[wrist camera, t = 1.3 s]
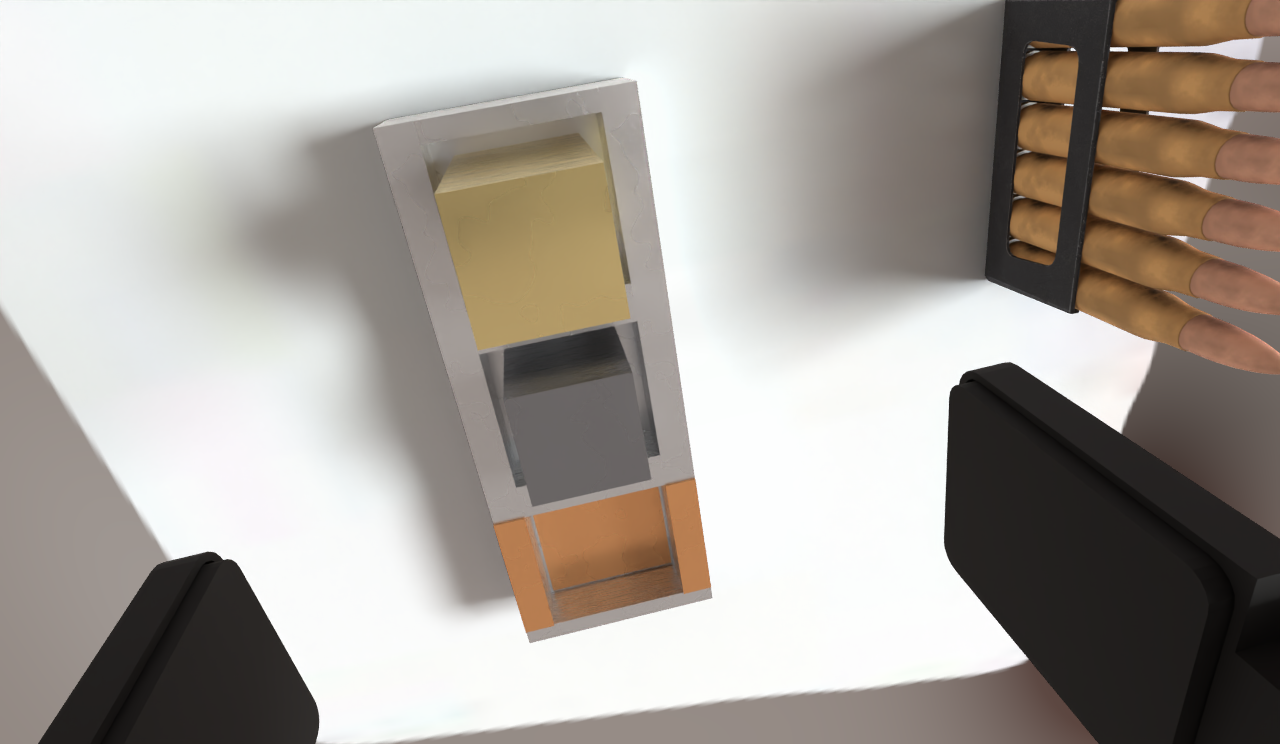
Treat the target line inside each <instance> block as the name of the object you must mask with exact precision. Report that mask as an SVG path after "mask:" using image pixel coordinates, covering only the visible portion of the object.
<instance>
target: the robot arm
mask: <svg viewBox="0 0 1280 744" xmlns="http://www.w3.org/2000/svg"><path fill="white" fill-rule="evenodd" d="M944 546H945V550H946V553H947V556H948V559H949V561H950V563H951V565H952V566H953V568H954V569H955V570H956V572H957V573H958V574H959V575H960V576H961V578H962V579H963V580H964V581H965V582H966V584H967V585H968V586H969V587H970V588H971V590H972V591H973V592H974V593H975V595H976V596H977V597H978V598H979V599H980V601H981V602H982V603H983V604H984V605H985V607H986V608H987V609H988V610H989V611H990V613H991V614H992V615H993V616H994V618H995V619H996V620H997V621H998V622H999V624H1000V625H1001V626H1002V627H1003V628H1004V630H1005V631H1006V632H1007V633H1008V634H1009V636H1010V637H1011V638H1012V639H1013V641H1014V642H1015V643H1016V644H1017V645H1018V647H1019V648H1020V649H1021V650H1022V651H1023V653H1024V654H1025V655H1026V656H1027V657H1028V659H1029V660H1030V661H1031V662H1032V664H1033V665H1034V666H1035V667H1036V668H1037V670H1038V671H1039V672H1040V673H1041V674H1042V675H1043V677H1044V678H1045V679H1046V680H1047V682H1048V683H1049V684H1050V685H1051V686H1052V687H1053V689H1054V690H1055V691H1056V692H1057V694H1058V695H1059V696H1060V697H1061V699H1062V700H1063V701H1064V702H1065V703H1066V705H1067V706H1068V707H1069V708H1070V710H1071V711H1072V712H1073V713H1074V714H1075V715H1076V717H1077V718H1078V719H1079V720H1080V722H1081V723H1082V724H1083V725H1084V726H1085V728H1086V729H1087V730H1088V731H1089V733H1090V734H1091V735H1092V736H1093V737H1094V739H1095V740H1096V741H1097V742H1098V743H1099V744H1280V539H1279V538H1278V537H1276V536H1275V535H1273V534H1272V533H1270V532H1269V531H1267V530H1266V529H1264V528H1263V527H1261V526H1260V525H1258V524H1257V523H1255V522H1253V521H1252V520H1250V519H1249V518H1247V517H1246V516H1244V515H1243V514H1241V513H1240V512H1238V511H1237V510H1235V509H1234V508H1232V507H1231V506H1229V505H1228V504H1226V503H1225V502H1223V501H1222V500H1220V499H1218V498H1217V497H1216V496H1214V495H1213V494H1211V493H1210V492H1208V491H1206V490H1205V489H1204V488H1202V487H1200V486H1199V485H1198V484H1196V483H1194V482H1193V481H1191V480H1190V479H1188V478H1187V477H1185V476H1184V475H1182V474H1181V473H1179V472H1178V471H1176V470H1175V469H1173V468H1172V467H1170V466H1169V465H1167V464H1166V463H1164V462H1163V461H1161V460H1160V459H1158V458H1157V457H1155V456H1154V455H1152V454H1151V453H1149V452H1147V451H1146V450H1145V449H1143V448H1141V447H1140V446H1139V445H1137V444H1135V443H1134V442H1132V441H1131V440H1129V439H1128V438H1126V437H1125V436H1123V435H1122V434H1120V433H1119V432H1117V431H1116V430H1114V429H1113V428H1111V427H1110V426H1108V425H1107V424H1105V423H1104V422H1102V421H1101V420H1099V419H1098V418H1096V417H1095V416H1093V415H1092V414H1090V413H1089V412H1087V411H1086V410H1084V409H1083V408H1081V407H1080V406H1078V405H1076V404H1075V403H1073V402H1072V401H1070V400H1069V399H1067V398H1066V397H1064V396H1063V395H1061V394H1060V393H1058V392H1057V391H1055V390H1054V389H1052V388H1051V387H1049V386H1048V385H1046V384H1045V383H1043V382H1042V381H1040V380H1039V379H1037V378H1036V377H1034V376H1033V375H1031V374H1030V373H1028V372H1027V371H1025V370H1024V369H1022V368H1021V367H1019V366H1017V365H1015V364H1013V363H1011V362H1008V363H1001V364H997V365H993V366H989V367H984V368H980V369H976V370H972V371H967V372H966V373H964V374H963V375H962V377H961V379H960V383H959V385H956V386H954V387H953V388H952V389H951V391H950V397H949V420H948V447H947V474H946V501H945V528H944ZM318 730H319V713H318V708H317V705H316V703H315V700H314V698H313V697H312V695H311V693H310V691H309V690H308V688H307V686H306V684H305V682H304V681H303V679H302V677H301V675H300V674H299V672H298V670H297V668H296V667H295V665H294V663H293V661H292V659H291V658H290V656H289V654H288V652H287V651H286V649H285V647H284V645H283V643H282V642H281V640H280V638H279V636H278V635H277V633H276V631H275V629H274V628H273V626H272V624H271V622H270V620H269V619H268V617H267V615H266V613H265V612H264V610H263V608H262V606H261V604H260V603H259V601H258V599H257V597H256V596H255V594H254V592H253V590H252V588H251V587H250V585H249V583H248V581H247V580H246V578H245V576H244V574H243V573H242V571H241V569H240V567H239V566H238V565H237V563H236V562H234V561H233V560H229V559H226V560H223V559H222V558H221V557H220V556H219V555H217V554H216V553H214V552H205V553H201V554H196V555H192V556H188V557H184V558H180V559H175V560H171V561H167V562H163V563H161V564H158V565H157V566H156V567H155V568H154V569H153V570H152V571H151V573H150V574H149V576H148V577H147V579H146V580H145V582H144V583H143V585H142V587H141V588H140V589H139V591H138V592H137V594H136V595H135V597H134V598H133V600H132V602H131V603H130V605H129V606H128V608H127V609H126V611H125V612H124V614H123V615H122V617H121V618H120V620H119V622H118V623H117V624H116V626H115V627H114V629H113V631H112V632H111V633H110V635H109V637H108V638H107V640H106V641H105V643H104V644H103V646H102V647H101V649H100V650H99V652H98V653H97V655H96V656H95V658H94V659H93V661H92V662H91V664H90V666H89V667H88V669H87V670H86V672H85V673H84V675H83V676H82V678H81V679H80V681H79V682H78V684H77V685H76V687H75V689H74V690H73V691H72V693H71V695H70V696H69V698H68V699H67V701H66V702H65V703H64V705H63V707H62V708H61V710H60V711H59V713H58V714H57V716H56V717H55V719H54V720H53V722H52V723H51V725H50V726H49V728H48V729H47V731H46V733H45V734H44V735H43V737H42V739H41V740H40V742H39V743H38V744H315V743H316V739H317V735H318Z"/></svg>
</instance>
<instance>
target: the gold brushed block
mask: <svg viewBox="0 0 1280 744" xmlns="http://www.w3.org/2000/svg"><path fill="white" fill-rule="evenodd" d="M434 195H435V199H436V203H437V206H438V210H439V213H440V217H441V220H442V224H443V228H444V231H445V235H446V238H447V242H448V245H449V249H450V252H451V256H452V260H453V263H454V267H455V270H456V274H457V277H458V281H459V285H460V288H461V292H462V295H463V299H464V302H465V306H466V310H467V313H468V317H469V320H470V324H471V327H472V331H473V335H474V338H475V342H476V345H477V349H478V350H483V349H487V348H492V347H497V346H502V345H507V344H511V343H516V342H521V341H526V340H530V339H535V338H540V337H545V336H550V335H554V334H559V333H564V332H569V331H573V330H578V329H583V328H588V327H592V326H597V325H602V324H607V323H612V322H616V321H621V320H626V319H631V318H630V312H629V306H628V301H627V295H626V289H625V283H624V278H623V272H622V266H621V260H620V255H619V249H618V243H617V237H616V231H615V226H614V220H613V214H612V208H611V203H610V197H609V191H608V185H607V180H606V174H605V168H604V162H603V161H602V160H601V159H600V158H599V157H598V155H597V154H596V153H595V152H594V151H593V149H592V148H591V147H590V146H589V145H588V144H587V142H586V141H585V140H584V139H583V138H582V137H581V135H580V134H579V133H574V134H569V135H563V136H558V137H553V138H547V139H542V140H536V141H531V142H526V143H520V144H515V145H509V146H504V147H499V148H493V149H488V150H482V151H477V152H472V153H466V154H461V155H455V156H453V158H452V160H451V162H450V164H449V166H448V168H447V170H446V172H445V174H444V176H443V178H442V180H441V182H440V184H439V186H438V188H437V190H436V192H435V194H434Z"/></svg>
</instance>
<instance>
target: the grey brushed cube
mask: <svg viewBox="0 0 1280 744" xmlns="http://www.w3.org/2000/svg"><path fill="white" fill-rule="evenodd" d="M503 401H504V405H505V408H506V412H507V416H508V419H509V423H510V427H511V430H512V434H513V438H514V441H515V445H516V449H517V452H518V456H519V460H520V463H521V467H522V471H523V474H524V478H525V482H526V486H527V489H528V493H529V497H530V500H531V504H532V507H534V506H539V505H543V504H547V503H552V502H556V501H560V500H565V499H569V498H573V497H578V496H582V495H586V494H591V493H595V492H600V491H604V490H608V489H613V488H617V487H621V486H626V485H630V484H634V483H639V482H643V481H647V480H652V479H651V474H650V468H649V462H648V457H647V451H646V446H645V440H644V434H643V429H642V423H641V418H640V412H639V406H638V401H637V395H636V390H635V384H634V378H633V373H632V370H631V367H630V365H629V362H628V360H627V357H626V354H625V352H624V349H623V347H622V344H621V341H620V339H619V336H618V334H617V331H616V329H615V326H612V327H607V328H602V329H598V330H593V331H588V332H583V333H579V334H574V335H569V336H564V337H559V338H555V339H550V340H545V341H540V342H536V343H531V344H526V345H521V346H517V347H512V348H507V349H504V380H503Z"/></svg>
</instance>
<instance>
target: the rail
mask: <svg viewBox="0 0 1280 744" xmlns="http://www.w3.org/2000/svg"><path fill="white" fill-rule="evenodd" d="M372 129H373V132H374V135H375V138H376V142H377V145H378V148H379V152H380V155H381V158H382V161H383V165H384V168H385V171H386V174H387V178H388V181H389V184H390V188H391V191H392V194H393V197H394V201H395V204H396V207H397V210H398V214H399V217H400V220H401V224H402V227H403V230H404V233H405V237H406V240H407V243H408V246H409V250H410V253H411V256H412V259H413V263H414V266H415V269H416V273H417V276H418V279H419V282H420V286H421V289H422V292H423V295H424V299H425V302H426V305H427V309H428V312H429V315H430V318H431V322H432V325H433V328H434V331H435V335H436V338H437V341H438V345H439V348H440V351H441V354H442V358H443V361H444V364H445V367H446V371H447V374H448V377H449V381H450V384H451V387H452V390H453V394H454V397H455V400H456V403H457V407H458V410H459V413H460V416H461V420H462V423H463V426H464V430H465V433H466V436H467V439H468V443H469V446H470V449H471V452H472V456H473V459H474V462H475V466H476V469H477V472H478V475H479V479H480V482H481V485H482V488H483V492H484V495H485V498H486V502H487V505H488V508H489V511H490V515H491V518H492V521H493V524H494V529H495V533H496V536H497V539H498V542H499V546H500V549H501V552H502V556H503V559H504V562H505V565H506V569H507V572H508V575H509V578H510V582H511V585H512V588H513V591H514V595H515V598H516V601H517V605H518V608H519V611H520V614H521V618H522V621H523V624H524V627H525V631H526V633H527V636H528V639H529V642H530V643H532V642H536V641H540V640H544V639H548V638H552V637H556V636H560V635H564V634H569V633H573V632H577V631H581V630H585V629H589V628H593V627H597V626H601V625H605V624H609V623H613V622H617V621H621V620H625V619H629V618H633V617H637V616H641V615H646V614H650V613H654V612H658V611H662V610H666V609H670V608H674V607H678V606H682V605H686V604H690V603H694V602H698V601H702V600H706V599H710V598H712V593H711V584H710V577H709V570H708V563H707V556H706V549H705V543H704V536H703V529H702V522H701V515H700V508H699V502H698V495H697V488H696V481H695V477H694V470H693V463H692V456H691V450H690V443H689V436H688V429H687V422H686V415H685V409H684V402H683V395H682V388H681V381H680V374H679V368H678V361H677V354H676V347H675V340H674V334H673V327H672V320H671V313H670V306H669V299H668V293H667V286H666V279H665V272H664V265H663V258H662V252H661V245H660V238H659V231H658V224H657V217H656V211H655V204H654V197H653V190H652V183H651V176H650V170H649V163H648V156H647V149H646V142H645V136H644V129H643V122H642V115H641V108H640V101H639V95H638V88H637V81H635V80H631V79H627V78H623V77H622V78H616V79H610V80H605V81H599V82H594V83H588V84H582V85H577V86H571V87H566V88H560V89H555V90H549V91H543V92H538V93H532V94H527V95H521V96H516V97H510V98H504V99H499V100H493V101H488V102H482V103H476V104H471V105H465V106H460V107H454V108H449V109H443V110H437V111H432V112H426V113H421V114H415V115H410V116H404V117H398V118H393V119H388V120H386V121H384V122H382V123H381V124H379V125H377V126H376V127H374V128H372ZM574 133H579V134H580V135H581V137H582V138H583V139H584V140H585V141H586V142H587V144H588V145H589V146H590V147H591V148H592V149H593V151H594V152H595V153H596V154H597V155H598V157H599V158H600V159H601V160H602V161H603V162H604V168H605V174H606V180H607V185H608V191H609V197H610V203H611V208H612V214H613V220H614V226H615V231H616V237H617V243H618V249H619V255H620V260H621V266H622V272H623V278H624V283H625V289H626V295H627V301H628V306H629V312H630V318H631V319H626V320H621V321H616V322H612V323H607V324H602V325H597V326H592V327H588V328H583V329H578V330H573V331H569V332H564V333H559V334H554V335H550V336H545V337H540V338H535V339H530V340H526V341H521V342H516V343H511V344H507V345H502V346H497V347H492V348H487V349H483V350H478V349H477V345H476V342H475V338H474V335H473V331H472V327H471V324H470V320H469V317H468V313H467V310H466V306H465V302H464V299H463V295H462V292H461V288H460V285H459V281H458V277H457V274H456V270H455V267H454V263H453V260H452V256H451V252H450V249H449V245H448V242H447V238H446V235H445V231H444V228H443V224H442V220H441V217H440V213H439V210H438V206H437V203H436V199H435V195H434V194H435V192H436V190H437V188H438V186H439V184H440V182H441V180H442V178H443V176H444V174H445V172H446V170H447V168H448V166H449V164H450V162H451V160H452V158H453V156H455V155H461V154H466V153H472V152H477V151H482V150H488V149H493V148H499V147H504V146H509V145H515V144H520V143H526V142H531V141H536V140H542V139H547V138H553V137H558V136H563V135H569V134H574ZM612 326H615V329H616V331H617V334H618V336H619V339H620V341H621V344H622V347H623V349H624V352H625V354H626V357H627V360H628V362H629V365H630V367H631V370H632V373H633V378H634V384H635V390H636V395H637V401H638V406H639V412H640V418H641V423H642V429H643V434H644V440H645V446H646V451H647V457H648V462H649V468H650V474H651V479H652V480H647V481H643V482H639V483H634V484H630V485H626V486H621V487H617V488H613V489H608V490H604V491H600V492H595V493H591V494H586V495H582V496H578V497H573V498H569V499H565V500H560V501H556V502H552V503H547V504H543V505H539V506H534V507H532V504H531V500H530V497H529V493H528V489H527V486H526V482H525V478H524V474H523V471H522V467H521V463H520V460H519V456H518V452H517V449H516V445H515V441H514V438H513V434H512V430H511V427H510V423H509V419H508V416H507V412H506V408H505V405H504V401H503V380H504V349H507V348H512V347H517V346H521V345H526V344H531V343H536V342H540V341H545V340H550V339H555V338H559V337H564V336H569V335H574V334H579V333H583V332H588V331H593V330H598V329H602V328H607V327H612Z"/></svg>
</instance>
